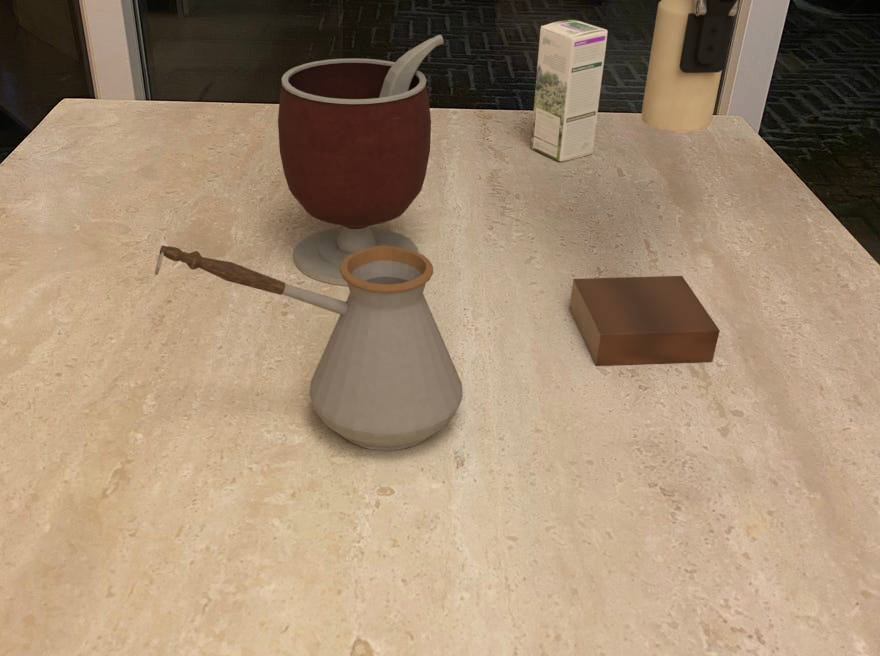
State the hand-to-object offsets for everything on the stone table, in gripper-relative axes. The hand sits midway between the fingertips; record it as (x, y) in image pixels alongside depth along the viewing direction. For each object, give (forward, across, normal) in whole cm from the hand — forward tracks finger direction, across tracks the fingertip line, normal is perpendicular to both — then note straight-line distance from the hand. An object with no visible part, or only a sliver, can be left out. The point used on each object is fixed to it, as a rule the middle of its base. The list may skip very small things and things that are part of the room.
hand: (687, 56), depth 77 cm
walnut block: (+22, -4, +1) cm, 23 cm away
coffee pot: (+22, -16, +29) cm, 40 cm away
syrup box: (+22, +41, -1) cm, 47 cm away
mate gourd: (+22, +13, +24) cm, 36 cm away
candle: (+5, 0, 0) cm, 5 cm away
